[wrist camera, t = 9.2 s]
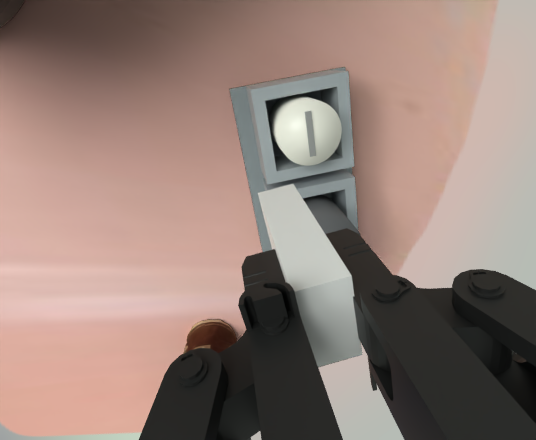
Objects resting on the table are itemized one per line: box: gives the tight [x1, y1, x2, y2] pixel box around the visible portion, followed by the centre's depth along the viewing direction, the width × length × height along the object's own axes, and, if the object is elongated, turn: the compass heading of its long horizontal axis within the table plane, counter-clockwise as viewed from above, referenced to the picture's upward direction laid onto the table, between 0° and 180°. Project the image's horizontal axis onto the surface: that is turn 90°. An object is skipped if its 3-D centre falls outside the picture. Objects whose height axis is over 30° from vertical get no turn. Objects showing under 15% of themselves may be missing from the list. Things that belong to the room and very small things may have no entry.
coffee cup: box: [184, 319, 237, 353], centre depth 38 cm, size 9×8×13 cm
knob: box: [268, 94, 342, 166], centre depth 30 cm, size 5×5×6 cm
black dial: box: [303, 195, 360, 235], centre depth 31 cm, size 5×5×6 cm
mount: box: [229, 67, 358, 252], centre depth 35 cm, size 26×11×6 cm, turn 9°
